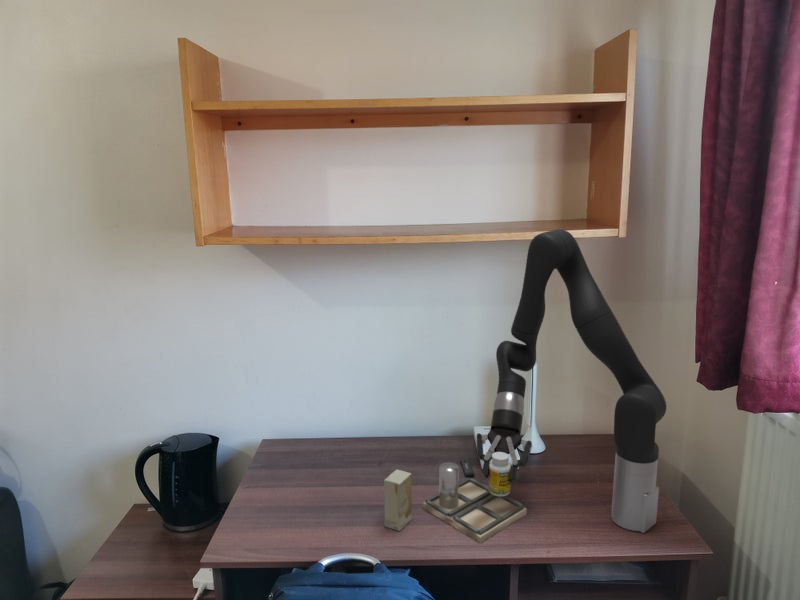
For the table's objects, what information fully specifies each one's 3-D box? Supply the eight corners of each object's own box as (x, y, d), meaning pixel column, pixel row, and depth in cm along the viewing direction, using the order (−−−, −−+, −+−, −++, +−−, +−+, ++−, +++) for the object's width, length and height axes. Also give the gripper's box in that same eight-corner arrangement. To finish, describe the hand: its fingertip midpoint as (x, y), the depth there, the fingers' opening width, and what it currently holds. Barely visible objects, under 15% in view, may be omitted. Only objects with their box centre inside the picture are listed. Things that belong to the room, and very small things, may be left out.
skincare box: (400, 532, 138) (399, 484, 135) (384, 527, 140) (382, 480, 138) (412, 518, 144) (412, 472, 141) (397, 513, 146) (396, 468, 143)
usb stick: (459, 462, 171) (459, 457, 171) (468, 461, 171) (468, 457, 171) (465, 479, 162) (465, 473, 162) (474, 478, 162) (474, 473, 162)
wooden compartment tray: (526, 514, 144) (526, 505, 144) (480, 543, 134) (480, 534, 133) (469, 484, 158) (469, 476, 158) (422, 508, 148) (422, 499, 147)
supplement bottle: (500, 483, 148) (501, 448, 145) (515, 492, 143) (516, 456, 141) (483, 489, 145) (484, 454, 143) (498, 499, 140) (499, 463, 138)
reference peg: (462, 504, 146) (462, 467, 144) (449, 511, 143) (449, 474, 141) (448, 496, 150) (448, 460, 148) (435, 503, 147) (435, 466, 145)
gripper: (478, 404, 149) (467, 470, 141) (536, 411, 144) (528, 480, 136) (481, 415, 155) (471, 479, 147) (537, 422, 150) (529, 488, 142)
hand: (498, 479), depth 141 cm, fingers closed on supplement bottle, 5 cm apart
